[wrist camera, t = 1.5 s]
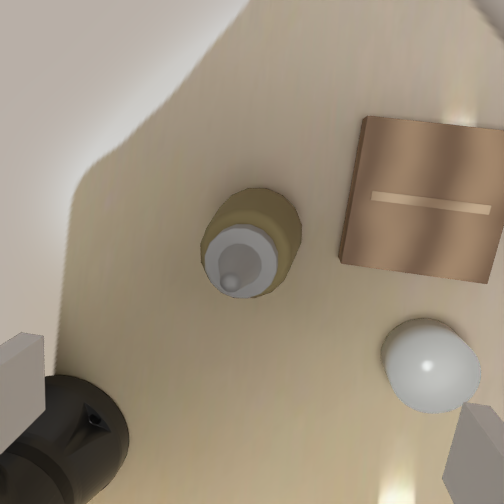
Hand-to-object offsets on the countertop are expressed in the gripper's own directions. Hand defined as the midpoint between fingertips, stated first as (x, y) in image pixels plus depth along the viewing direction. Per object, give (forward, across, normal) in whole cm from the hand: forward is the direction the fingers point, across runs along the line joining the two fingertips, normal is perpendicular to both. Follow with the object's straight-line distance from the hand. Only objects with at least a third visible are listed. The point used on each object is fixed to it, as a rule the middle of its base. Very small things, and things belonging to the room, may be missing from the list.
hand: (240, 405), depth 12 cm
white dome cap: (+27, +16, -10) cm, 33 cm away
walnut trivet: (+26, +13, +6) cm, 30 cm away
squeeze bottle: (+27, -2, +1) cm, 27 cm away
